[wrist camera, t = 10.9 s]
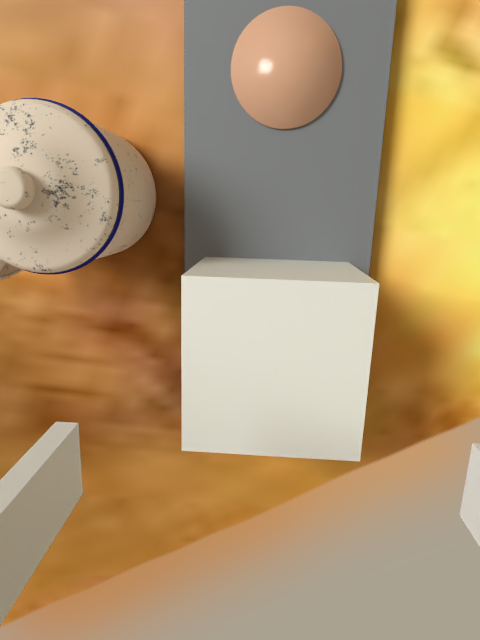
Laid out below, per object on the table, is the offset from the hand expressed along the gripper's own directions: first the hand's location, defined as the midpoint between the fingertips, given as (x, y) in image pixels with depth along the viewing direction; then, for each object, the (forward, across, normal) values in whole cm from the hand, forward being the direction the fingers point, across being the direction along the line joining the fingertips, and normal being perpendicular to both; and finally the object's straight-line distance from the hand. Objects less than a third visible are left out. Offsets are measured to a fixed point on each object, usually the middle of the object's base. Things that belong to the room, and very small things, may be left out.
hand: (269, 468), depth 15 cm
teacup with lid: (+20, -14, +8) cm, 25 cm away
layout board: (+19, 0, +9) cm, 21 cm away
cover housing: (+18, 0, 0) cm, 18 cm away
